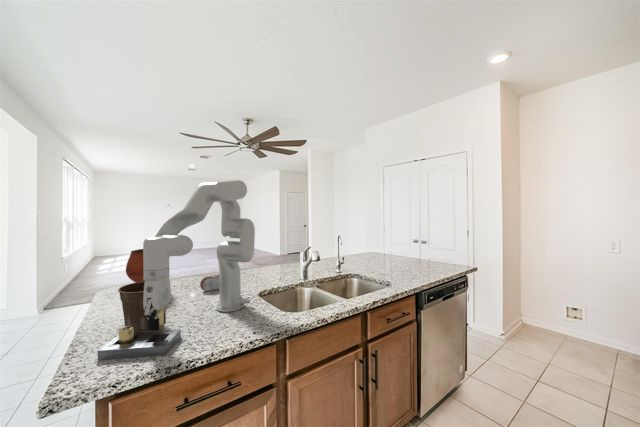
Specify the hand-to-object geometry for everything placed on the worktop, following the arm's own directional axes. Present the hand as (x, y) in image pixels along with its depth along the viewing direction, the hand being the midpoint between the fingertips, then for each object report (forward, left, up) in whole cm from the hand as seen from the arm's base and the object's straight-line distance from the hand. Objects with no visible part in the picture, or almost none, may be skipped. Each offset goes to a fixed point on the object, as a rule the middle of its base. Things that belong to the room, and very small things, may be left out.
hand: (157, 326), depth 90 cm
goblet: (+33, -61, -7) cm, 70 cm away
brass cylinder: (0, 0, -1) cm, 1 cm away
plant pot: (+14, -19, -7) cm, 25 cm away
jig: (+5, 0, -7) cm, 9 cm away
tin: (-2, -64, -7) cm, 65 cm away
